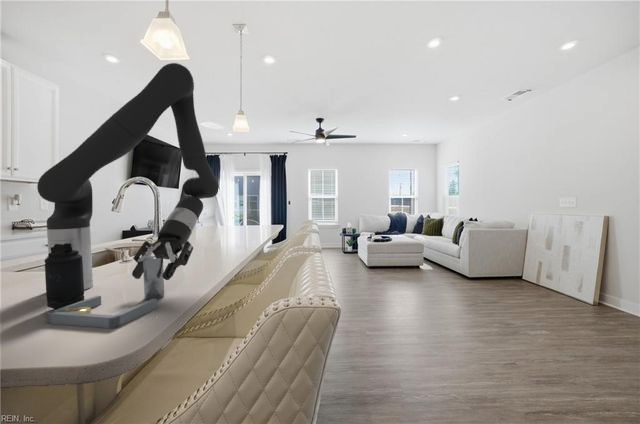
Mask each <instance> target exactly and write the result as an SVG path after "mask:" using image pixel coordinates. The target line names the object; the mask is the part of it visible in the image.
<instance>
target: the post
mask: <svg viewBox="0 0 640 424" xmlns="http://www.w3.org/2000/svg"><path fill="white" fill-rule="evenodd" d="M152 256H153V255H152ZM164 271H165V269H164V259H163V257H162V256H155V255H154V256H153V257H146V258H143V291H144V294H143V295H144V300H145V301H148V300H151V299H157V300H159V299H162V298H164V297H165V279H164V278H163V277H162V275H163V273H164Z"/></svg>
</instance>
